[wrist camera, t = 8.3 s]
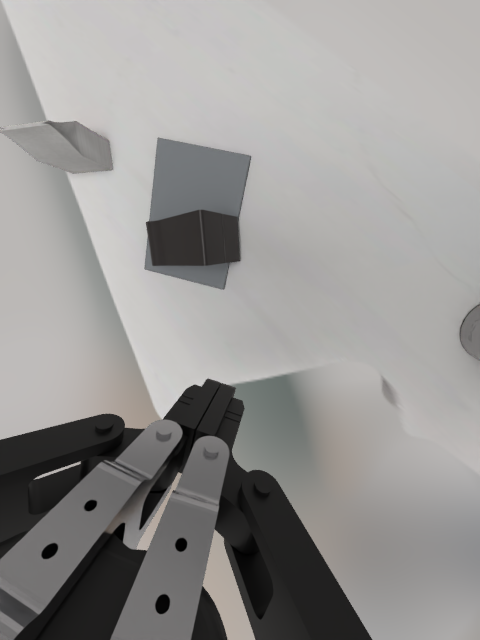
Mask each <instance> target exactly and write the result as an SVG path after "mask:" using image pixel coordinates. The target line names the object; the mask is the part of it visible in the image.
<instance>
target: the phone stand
mask: <svg viewBox="0 0 480 640" xmlns="http://www.w3.org/2000/svg"><path fill="white" fill-rule="evenodd" d="M146 226H147V233H148V240H149V247H150V254H151V261H152V266H208V265H215V264H222V263H230V262H237V261H240V258H239V239H238V220H237V217H236V216H231V215H226V214H221V213H217V212H212V211H207V210H196V211H192V212H188V213H184V214H180V215H177V216H173V217H169V218H165V219H162V220H157V221H149V222H146Z"/></svg>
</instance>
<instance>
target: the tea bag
mask: <svg viewBox="0 0 480 640" xmlns="http://www.w3.org/2000/svg"><path fill="white" fill-rule="evenodd" d="M0 128H1V129H3V130H0V133H2V134H4V135H5V136H7V137H8V138H9V139H11V140H12V141H13V142H15V143H16V144H17V145H19V146H20V147H21V148H22V149H23V150H24V151H26V152H27V153H28V154H29V155H30V156H32V157H33V158H34V159H35V160H36V161H39V162H42V163H45V164H47V165H50V166H53V167H56V168H59V169H62V170H65V171H68V172H70V173H73V174H74V173H86V172H97V171H108V170H113V164H112V157H111V150H110V143H109V141H108V140H107V139H105V138H103V137H102V136H100V135H98V134H97V133H95V132H93V131H92V130H90V129H88V128H87V127H85V126H83V125H82V124H80V123H78V122H77V121H73V122H63V123H59V122H52V121H42V122H35V123H27V124H20V125H13V126H6V127H0Z"/></svg>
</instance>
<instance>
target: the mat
mask: <svg viewBox="0 0 480 640" xmlns="http://www.w3.org/2000/svg"><path fill="white" fill-rule="evenodd" d="M250 160H251V156H249V155H244V154H239V153H234V152H229V151H224V150H219V149H214V148H208V147H203V146H198V145H193V144H188V143H183V142H178V141H173V140H167V139H162V138H158V140H157V150H156V159H155V169H154V179H153V189H152V199H151V209H150V219H149V221H157V220H162V219H165V218H169V217H173V216H177V215H180V214H184V213H188V212H192V211H196V210H207V211H212V212H217V213H221V214H226V215H231V216H236V217H237V220H238V219H239V214H240V209H241V204H242V199H243V194H244V189H245V184H246V179H247V175H248V170H249V165H250ZM228 268H229V263H222V264H215V265H208V266H152V261H151V254H150V247H149V240H148V239H147V249H146V259H145V270H149V271H153V272H157V273H161V274H165V275H169V276H172V277H176V278H180V279H184V280H188V281H192V282H196V283H199V284H203V285H207V286H211V287H215V288H219V289H224V287H225V282H226V277H227V273H228Z"/></svg>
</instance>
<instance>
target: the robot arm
mask: <svg viewBox="0 0 480 640" xmlns="http://www.w3.org/2000/svg"><path fill="white" fill-rule="evenodd" d="M460 336H461V342H462V345H463V347H464V348H465V350H466V351H467V352H468V353H469V354H470V355H472V356H473V357H475V358H476V359H478V360H480V305H479V306H477V307H476V308H474V309H473V310H472V311H471V312H470V313H469V314H468V316H467V317H466V319H465V320H464V322H463V325H462V327H461V334H460ZM235 389H236V388H235V387H232V386H229V385H226V384H223V383H222V384H221V383H220V382H217V381H214V380H211V379H207V380H206V381H205V383H204V384H203V386H202V387H201V386H198V385H193V386H191V387H189V388H187V389H186V390H185V391H184V393H183V394H182V396H180V398H179V399H178V401H177V402H176V403H175V404H174V405H173V407H172V408H171V409H170V411H169V412H168V413H167V414H166V416H165V417H164V418H163V420H158V421H155V422H153V423H151V424H150V425H149V426H148V427H147V428H146V429H133V428H125V423H124V421H123V419H122V418H121V417H119V416H117V415H114V414H101V415H97V416H93V417H89V418H85V419H81V420H77V421H74V422H70V423H65V424H62V425H58V426H53V427H50V428H45V429H42V430H38V431H34V432H30V433H26V434H22V435H18V436H14V437H10V438H6V439H2V440H0V640H227V636H226V632H225V629H224V625H223V622H222V620H221V617H220V614H219V612H218V610H217V608H216V605H215V603H214V602H213V600H212V598H211V597H210V595H209V593H208V592H207V591H206V590H205V589H204V587H203V586H202V585H203V580H204V576H205V571H206V566H207V561H208V557H209V552H210V547H211V543H212V538H213V533H214V529H215V530H216V531H217V532H218V533H219V534H221V536H223V537H224V545H225V549H226V552H227V555H228V558H229V561H230V564H231V567H232V570H233V573H234V576H235V579H236V582H237V585H238V588H239V591H240V594H241V597H242V600H243V603H244V606H245V609H246V612H247V615H248V618H249V621H250V624H251V627H252V630H253V633H254V636H255V639H256V640H372V639H371V637H370V635H369V633H368V632H367V630H366V629H365V627H364V625H363V624H362V622H361V620H360V618H359V617H358V615H357V613H356V612H355V610H354V609H353V607H352V605H351V604H350V602H349V600H348V599H347V597H346V595H345V594H344V592H343V590H342V589H341V587H340V585H339V584H338V582H337V581H336V579H335V577H334V575H333V574H332V572H331V570H330V569H329V567H328V565H327V564H326V562H325V560H324V559H323V557H322V555H321V554H320V552H319V550H318V549H317V547H316V545H315V544H314V542H313V540H312V539H311V537H310V535H309V534H308V532H307V530H306V529H305V527H304V525H303V524H302V522H301V520H300V519H299V517H298V515H297V514H296V512H295V510H294V509H293V507H292V505H291V504H290V502H289V500H288V499H287V497H286V495H285V494H284V492H283V490H282V489H281V487H280V485H279V484H278V482H277V481H276V479H275V478H274V477H273V476H271V475H270V474H268V473H267V472H265V471H261V470H252V471H250V472H246V471H245V470H243V469H242V468H241V467H240V466H239V465H238V464H237V463H236V461H235V460H234V458H233V455H232V448H233V444H234V441H235V438H236V435H237V432H238V428H239V425H240V421H241V418H242V415H243V411H244V405H243V401H242V400H238V399H236V398H233V396H234V393H235ZM79 461H81V464H79V465H76V466H74V467H71V468H68V469H65V470H63V471H59V472H57V473H54V474H51V475H48V476H45V477H43V478H40V479H35V478H36V477H37V476H40V475H42V474H45V473H48V472H51V471H54V470H56V469H59V468H62V467H65V466H68V465H71V464H74V463H77V462H79ZM178 472H180V473H182V475H181V478H180V480H179V483H178V485H177V487H176V490H175V491H174V490H173V492H172V494H171V496H170V498H169V500H168V503H167V505H166V507H165V510H164V512H163V515H162V517H161V519H160V522H159V524H158V527H157V529H156V531H155V534H154V537H153V539H152V541H151V543H150V546H149V548H148V551H146V550H136V547H137V545H138V543H139V541H140V539H141V537H142V535H143V534H144V532H145V530H146V529H147V527H148V525H149V524H150V522H151V520H152V519H153V517H154V516H155V514H156V512H157V511H158V509H159V507H160V506H161V504H162V503H163V501H164V499H165V498H166V496H167V494H168V493H169V491H170V489H171V486H172V483H173V481H174V479H175V477H176V475H177V473H178ZM33 479H35V480H33Z"/></svg>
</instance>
